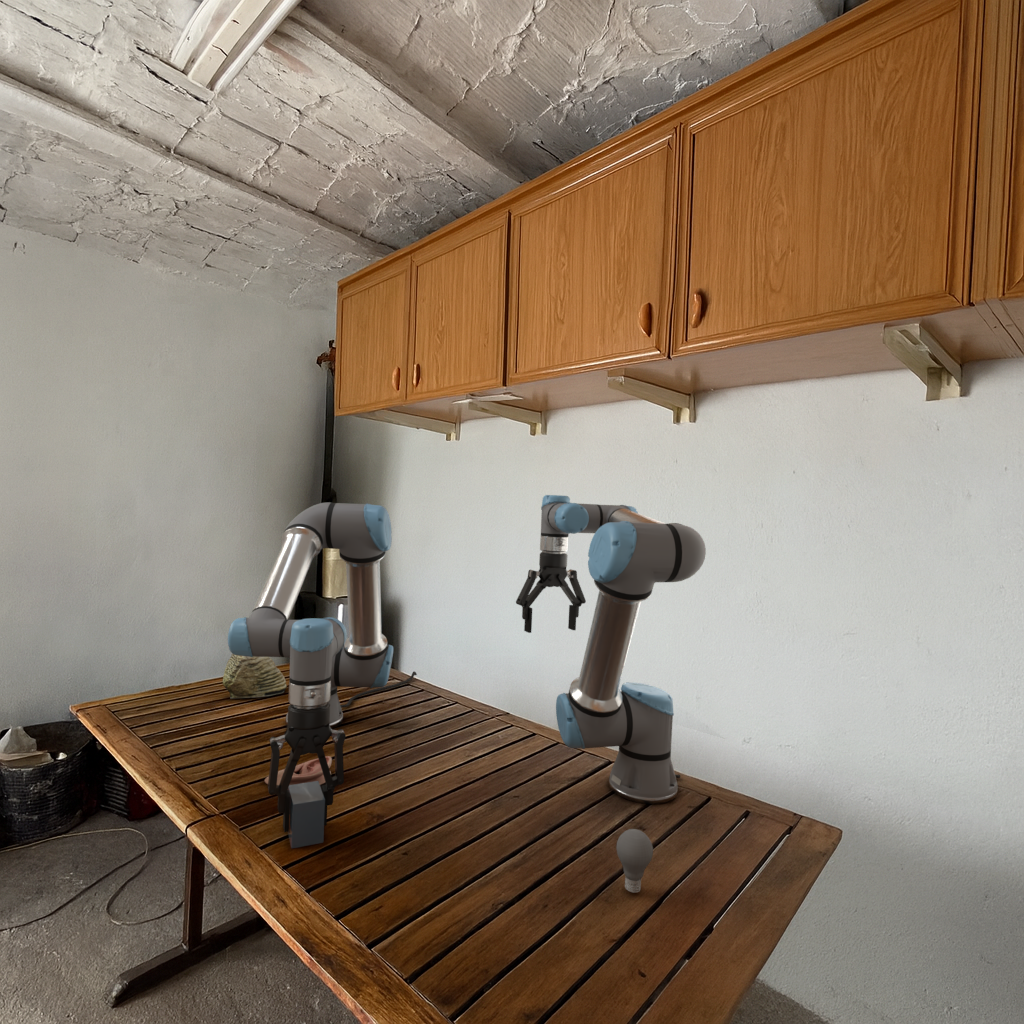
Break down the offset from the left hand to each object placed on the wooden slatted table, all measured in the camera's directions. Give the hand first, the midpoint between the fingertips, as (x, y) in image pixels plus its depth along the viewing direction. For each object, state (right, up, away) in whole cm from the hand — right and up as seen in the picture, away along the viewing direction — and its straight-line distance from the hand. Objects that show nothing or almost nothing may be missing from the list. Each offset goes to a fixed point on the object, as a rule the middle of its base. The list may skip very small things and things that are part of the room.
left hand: (304, 824), depth 119 cm
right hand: (+49, +27, +52) cm, 77 cm away
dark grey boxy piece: (0, -2, 0) cm, 2 cm away
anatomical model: (-9, -1, +22) cm, 24 cm away
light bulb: (+59, -5, -13) cm, 61 cm away
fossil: (-42, +2, +79) cm, 89 cm away
